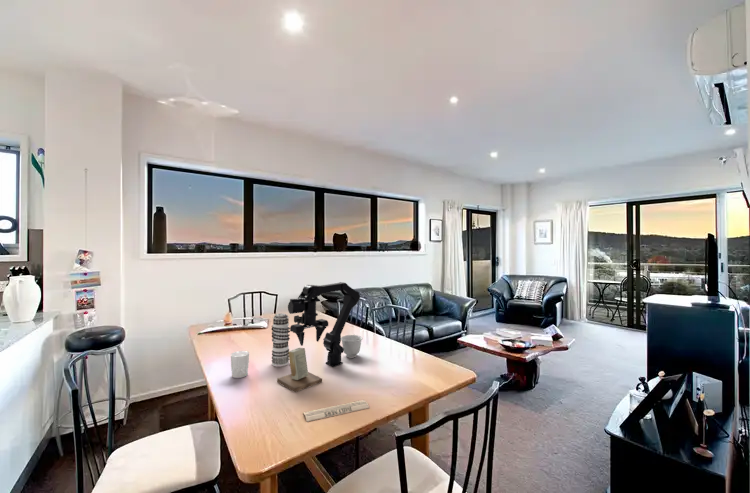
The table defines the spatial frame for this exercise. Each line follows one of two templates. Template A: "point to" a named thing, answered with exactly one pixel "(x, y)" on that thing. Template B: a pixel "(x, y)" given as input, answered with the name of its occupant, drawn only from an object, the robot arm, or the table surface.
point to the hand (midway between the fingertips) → (309, 343)
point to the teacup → (351, 345)
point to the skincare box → (298, 363)
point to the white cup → (239, 364)
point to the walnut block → (299, 382)
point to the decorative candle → (280, 340)
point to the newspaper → (336, 410)
